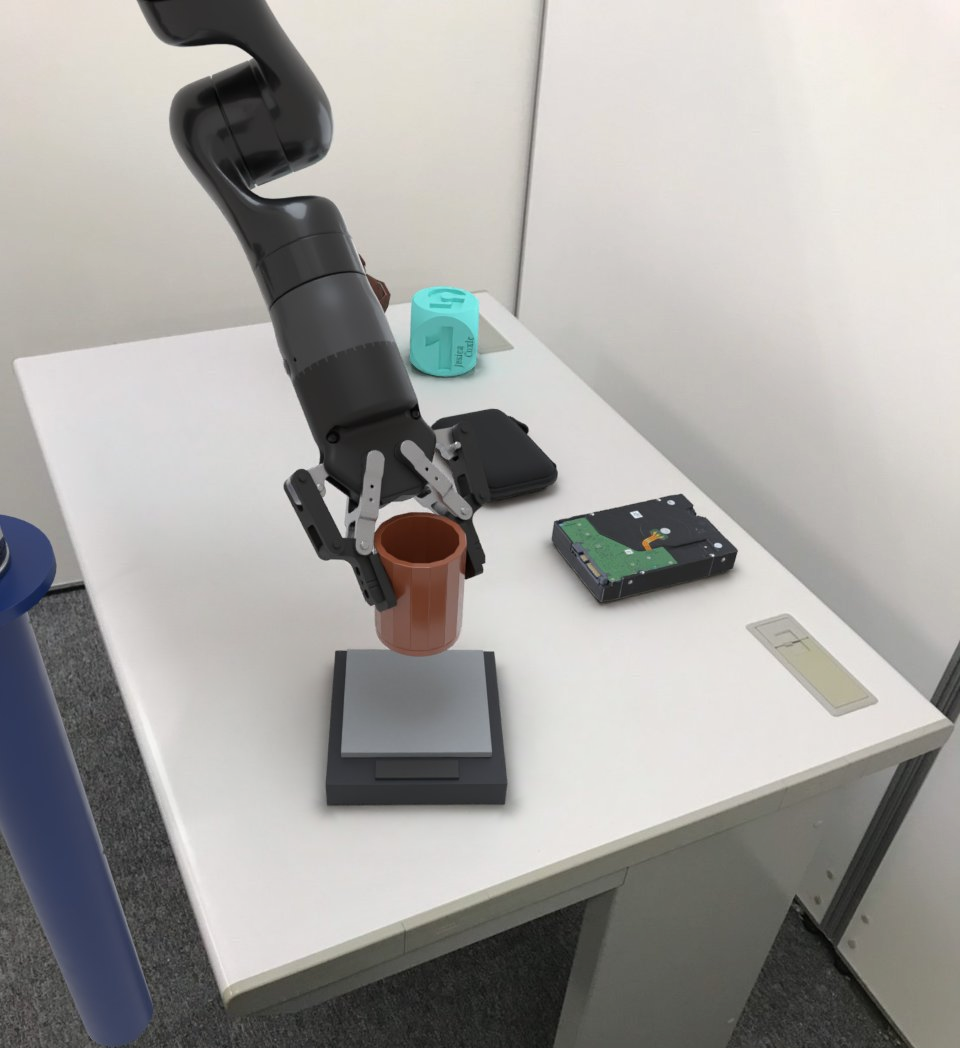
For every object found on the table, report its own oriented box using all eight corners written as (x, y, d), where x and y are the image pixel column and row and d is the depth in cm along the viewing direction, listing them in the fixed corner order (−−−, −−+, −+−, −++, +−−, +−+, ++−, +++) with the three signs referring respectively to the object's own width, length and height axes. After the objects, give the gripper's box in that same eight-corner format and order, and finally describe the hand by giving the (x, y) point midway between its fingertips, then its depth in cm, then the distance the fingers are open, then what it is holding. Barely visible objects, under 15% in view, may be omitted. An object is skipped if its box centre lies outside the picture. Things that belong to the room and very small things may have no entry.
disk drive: (675, 514, 103) (548, 542, 98) (680, 491, 101) (551, 518, 96) (734, 573, 96) (601, 607, 91) (741, 549, 94) (605, 582, 89)
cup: (374, 657, 70) (372, 567, 65) (376, 599, 74) (374, 511, 69) (462, 657, 70) (468, 568, 65) (459, 600, 75) (464, 512, 70)
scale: (326, 805, 73) (325, 779, 71) (336, 671, 83) (334, 644, 81) (504, 804, 74) (508, 778, 72) (492, 671, 84) (495, 645, 82)
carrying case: (572, 490, 105) (508, 422, 114) (576, 465, 103) (510, 398, 112) (481, 511, 101) (422, 439, 111) (483, 485, 99) (423, 414, 109)
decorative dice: (409, 375, 121) (410, 312, 116) (411, 345, 127) (412, 283, 122) (475, 378, 121) (479, 316, 116) (474, 348, 127) (478, 287, 122)
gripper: (257, 364, 61) (358, 621, 62) (455, 316, 67) (543, 550, 68) (231, 404, 68) (322, 635, 69) (413, 357, 74) (493, 569, 75)
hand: (432, 591), depth 68 cm, fingers closed on cup, 6 cm apart
